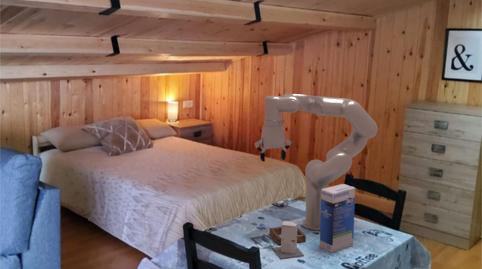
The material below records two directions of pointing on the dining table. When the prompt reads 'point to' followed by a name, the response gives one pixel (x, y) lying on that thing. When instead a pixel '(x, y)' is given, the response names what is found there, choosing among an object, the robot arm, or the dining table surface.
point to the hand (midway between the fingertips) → (273, 160)
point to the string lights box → (337, 217)
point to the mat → (287, 255)
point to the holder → (277, 230)
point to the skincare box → (289, 237)
